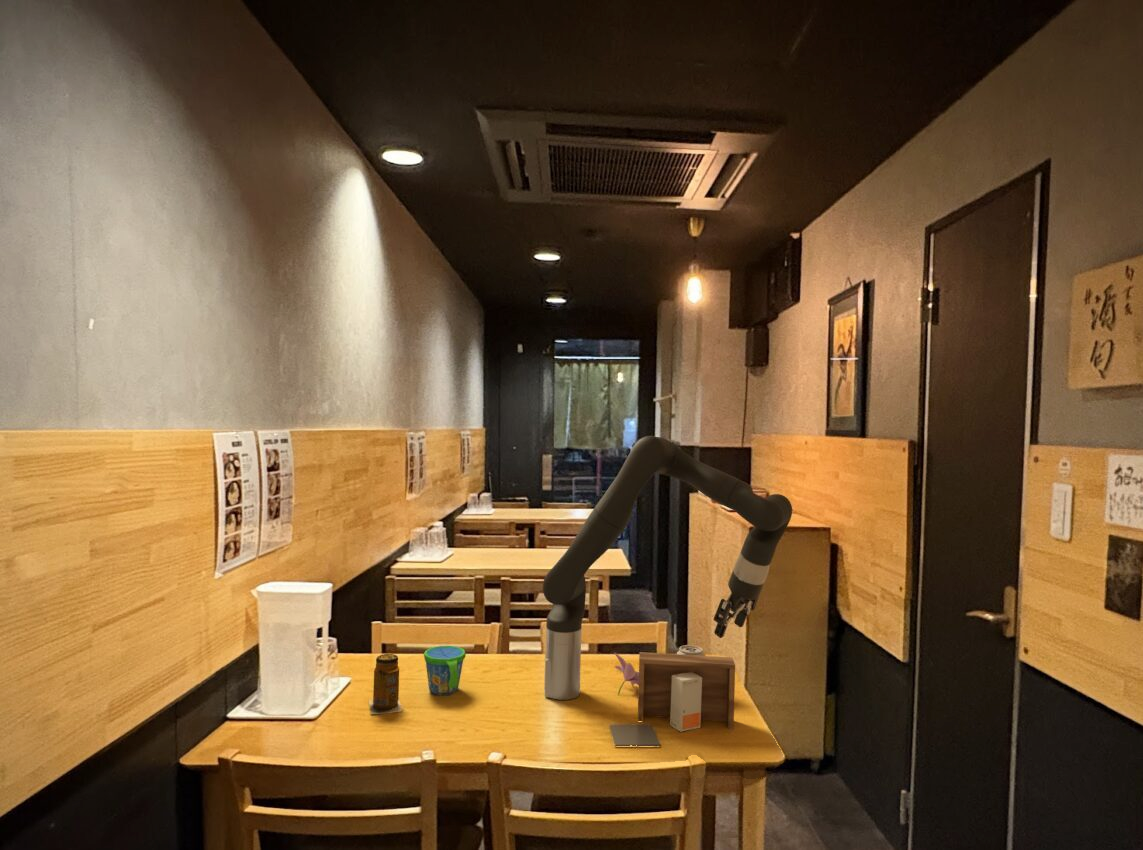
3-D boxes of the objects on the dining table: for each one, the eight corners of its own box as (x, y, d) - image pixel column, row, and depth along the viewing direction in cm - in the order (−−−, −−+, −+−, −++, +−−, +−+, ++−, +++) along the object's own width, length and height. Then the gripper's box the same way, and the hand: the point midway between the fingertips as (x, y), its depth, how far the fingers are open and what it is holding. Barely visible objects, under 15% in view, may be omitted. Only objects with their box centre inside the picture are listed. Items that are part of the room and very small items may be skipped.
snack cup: (471, 699, 171) (472, 659, 171) (429, 705, 167) (430, 663, 167) (456, 677, 186) (457, 640, 186) (418, 682, 181) (419, 644, 181)
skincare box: (680, 733, 155) (681, 680, 155) (669, 725, 159) (670, 674, 159) (701, 728, 158) (702, 677, 158) (690, 721, 162) (691, 671, 162)
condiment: (398, 698, 171) (400, 651, 171) (402, 712, 163) (403, 662, 163) (368, 701, 168) (370, 653, 168) (371, 715, 160) (372, 665, 160)
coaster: (615, 747, 147) (615, 744, 147) (609, 727, 157) (609, 724, 157) (660, 747, 148) (660, 744, 148) (651, 726, 158) (651, 724, 158)
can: (702, 688, 182) (704, 644, 182) (705, 699, 175) (706, 653, 175) (675, 687, 183) (676, 642, 183) (676, 698, 175) (677, 651, 175)
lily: (650, 707, 172) (661, 669, 175) (608, 689, 171) (620, 652, 174) (635, 703, 183) (646, 668, 186) (596, 687, 182) (608, 652, 185)
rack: (733, 728, 158) (735, 664, 158) (637, 721, 160) (639, 658, 160) (730, 719, 163) (732, 657, 163) (637, 713, 165) (639, 652, 165)
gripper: (752, 558, 164) (732, 613, 169) (719, 572, 154) (698, 629, 159) (778, 575, 159) (757, 630, 164) (746, 590, 149) (724, 649, 155)
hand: (728, 630), depth 162 cm, fingers open, 8 cm apart
